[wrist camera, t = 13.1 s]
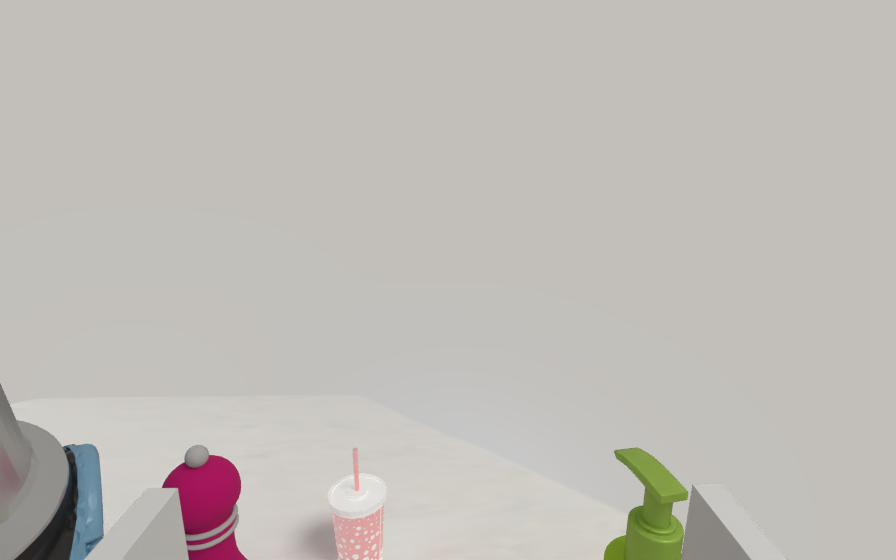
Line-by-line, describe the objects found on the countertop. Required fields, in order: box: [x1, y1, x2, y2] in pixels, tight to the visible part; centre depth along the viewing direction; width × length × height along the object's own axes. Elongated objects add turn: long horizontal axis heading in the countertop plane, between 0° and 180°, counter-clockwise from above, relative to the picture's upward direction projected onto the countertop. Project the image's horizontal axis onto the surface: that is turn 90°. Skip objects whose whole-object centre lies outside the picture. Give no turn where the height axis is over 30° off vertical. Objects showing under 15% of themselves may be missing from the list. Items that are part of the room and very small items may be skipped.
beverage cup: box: [328, 448, 386, 560], centre depth 50 cm, size 6×6×14 cm
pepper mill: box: [162, 445, 247, 560], centre depth 41 cm, size 7×7×20 cm
